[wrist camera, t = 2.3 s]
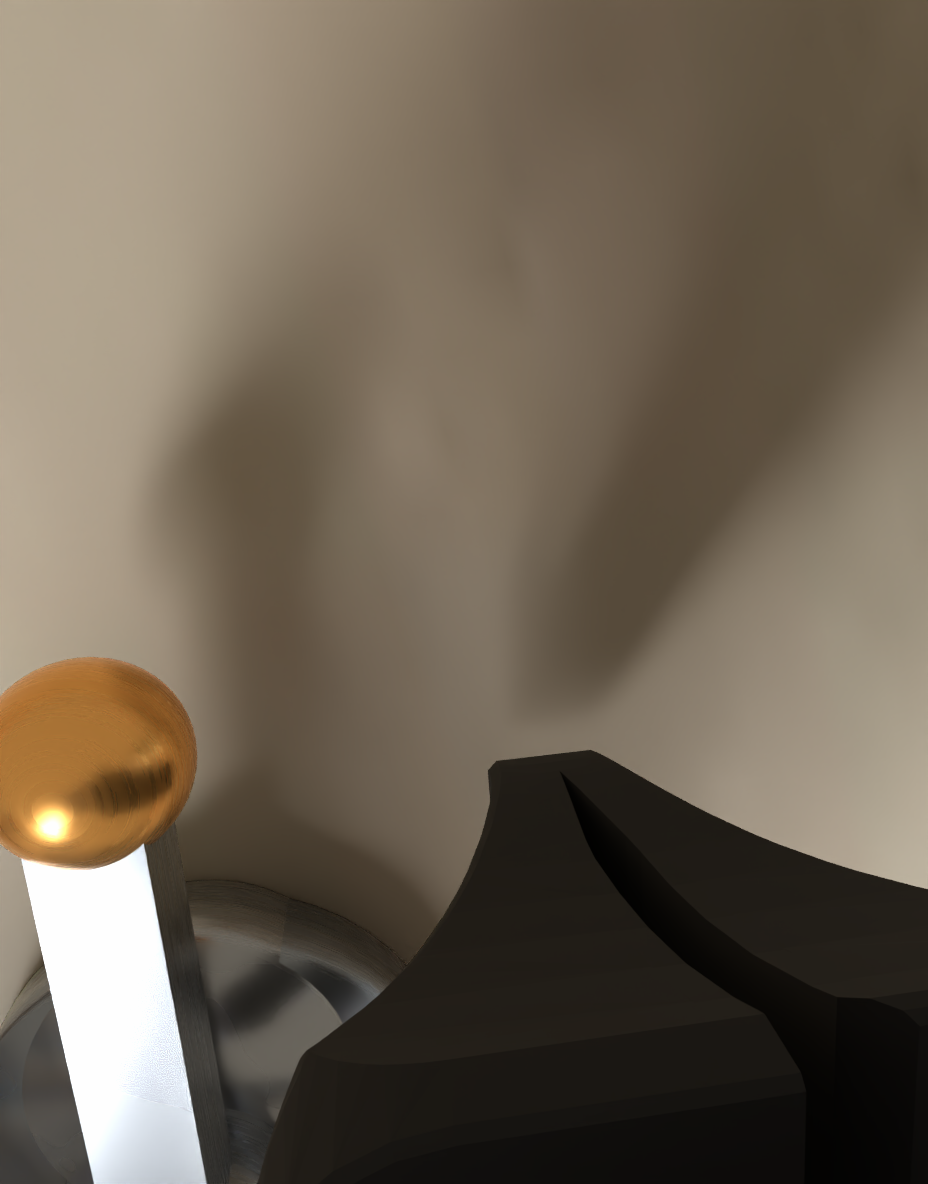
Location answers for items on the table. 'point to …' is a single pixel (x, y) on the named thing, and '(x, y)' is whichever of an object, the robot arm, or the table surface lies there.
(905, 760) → the table surface
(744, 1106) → the robot arm
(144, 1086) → the cam capstan
